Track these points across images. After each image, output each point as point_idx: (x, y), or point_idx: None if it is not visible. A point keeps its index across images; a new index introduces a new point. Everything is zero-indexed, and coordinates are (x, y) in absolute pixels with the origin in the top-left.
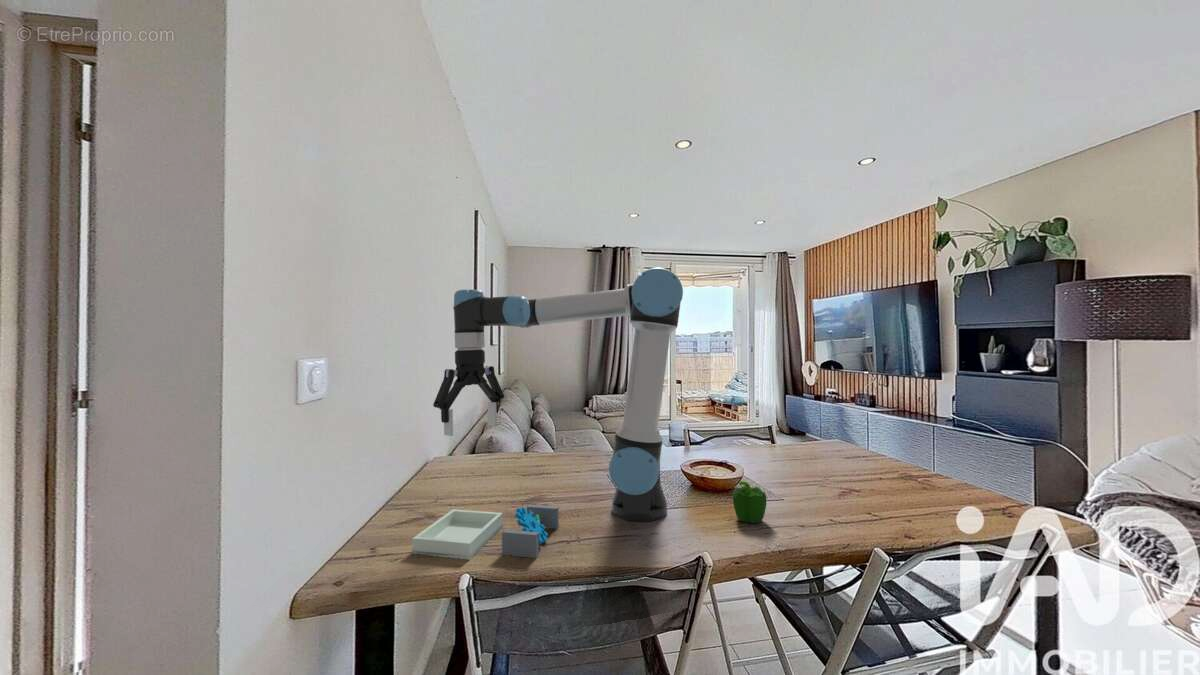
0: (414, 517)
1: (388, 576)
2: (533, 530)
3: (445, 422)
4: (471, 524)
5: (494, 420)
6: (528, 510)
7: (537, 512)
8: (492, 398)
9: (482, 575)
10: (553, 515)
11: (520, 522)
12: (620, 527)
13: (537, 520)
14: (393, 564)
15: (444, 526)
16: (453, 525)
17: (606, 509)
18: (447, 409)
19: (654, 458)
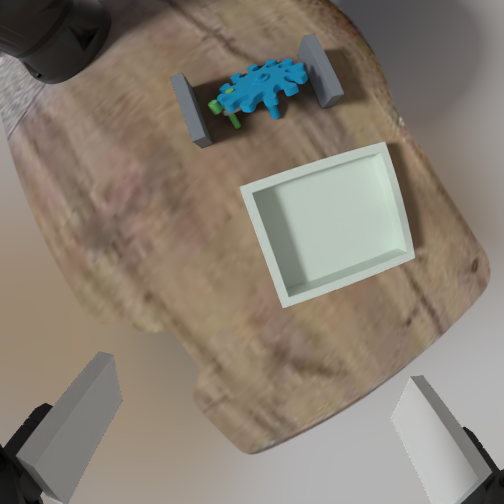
0: (297, 374)
1: (451, 223)
2: (275, 68)
3: (465, 427)
4: (279, 245)
5: (97, 377)
6: (205, 134)
7: (199, 115)
8: (25, 501)
9: (391, 96)
10: (188, 84)
11: (305, 72)
12: (138, 17)
13: (230, 91)
14: (431, 248)
15: (324, 277)
16: (302, 274)
17: (80, 81)
18: (501, 471)
19: None
